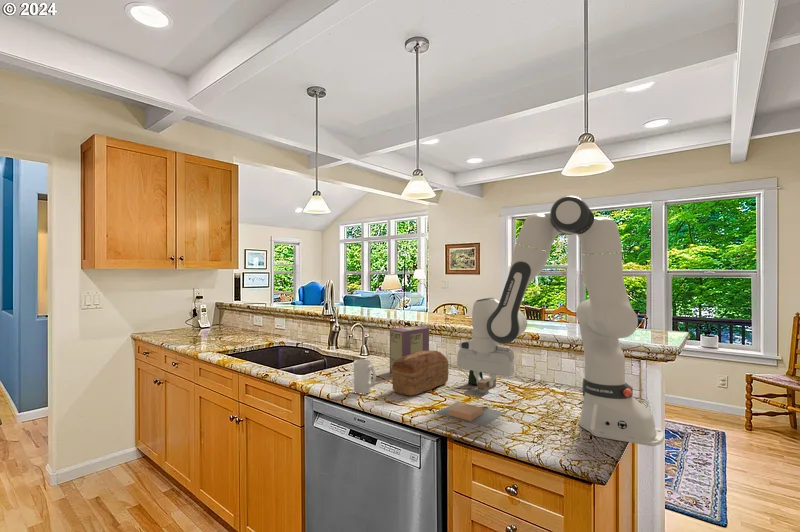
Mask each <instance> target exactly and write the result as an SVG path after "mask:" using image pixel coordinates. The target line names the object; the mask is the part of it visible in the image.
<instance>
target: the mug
mask: <svg viewBox="0 0 800 532" xmlns="http://www.w3.org/2000/svg"><path fill="white" fill-rule="evenodd" d="M372 375H373V377H372ZM376 380H377V374H376V369H375V366H374V365H372V361H371V359H364V358H363V359H361V358H360V359H355V360H354V361H353V386H354V388H353V389H354V391H355V392H356V393H368V394H370V393H371V392H372V391H371V389H372V388H374V387H375V384H376ZM370 391H371V392H370ZM355 392H354V393H355ZM369 392H370V393H369ZM356 393H355V394H356Z"/></svg>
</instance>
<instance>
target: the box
mask: <svg viewBox="0 0 800 532" xmlns="http://www.w3.org/2000/svg"><path fill="white" fill-rule="evenodd" d="M417 351H430V328H429V327H425V326H418V325H412V326H411V325H410V326H405V327H398V328H397V327H396V328H391V329H389V374H392V365H393V363H394V362H395V361H397V360H398V359H400V358H402V357H404V356H406V355H409V354H412V353H414V352H417Z"/></svg>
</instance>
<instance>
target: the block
mask: <svg viewBox="0 0 800 532" xmlns="http://www.w3.org/2000/svg"><path fill="white" fill-rule="evenodd" d="M464 403H465V402H462V403H460V404H458V405H456V406H454V407H452V408H450V409H449V416H453V417H456V418H460V419H464V420H468V421H472V420H474V419H475V418H477V417H479V416H481V415H482V414H483V408H484V407H483V408H481V407H482V406H478V407H477V405H474V406H472V405H473V404H470V405H468V404H469V403H466V404H464Z"/></svg>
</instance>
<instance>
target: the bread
mask: <svg viewBox="0 0 800 532" xmlns="http://www.w3.org/2000/svg"><path fill="white" fill-rule="evenodd" d="M449 373H450V372H449V360H448V358H447V357H446V355H444V354H443V353H442V352H441V351H438V350H429V351H417V352H414V353H412V354H409V355H406V356H404V357H402V358H400V359H398V360H397V361H395V362H394V363H393V365H392V373H391V379H392V380H391V381H392V390H393V391H394V393H396V394H398V395H399V394H400V395H404V396H416V395H418V394H421V393H423V392H426V391H429V390H432V389H434V388H436V387H439V386H442V385H444V384H446V383H447V382H448V381H449Z"/></svg>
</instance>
